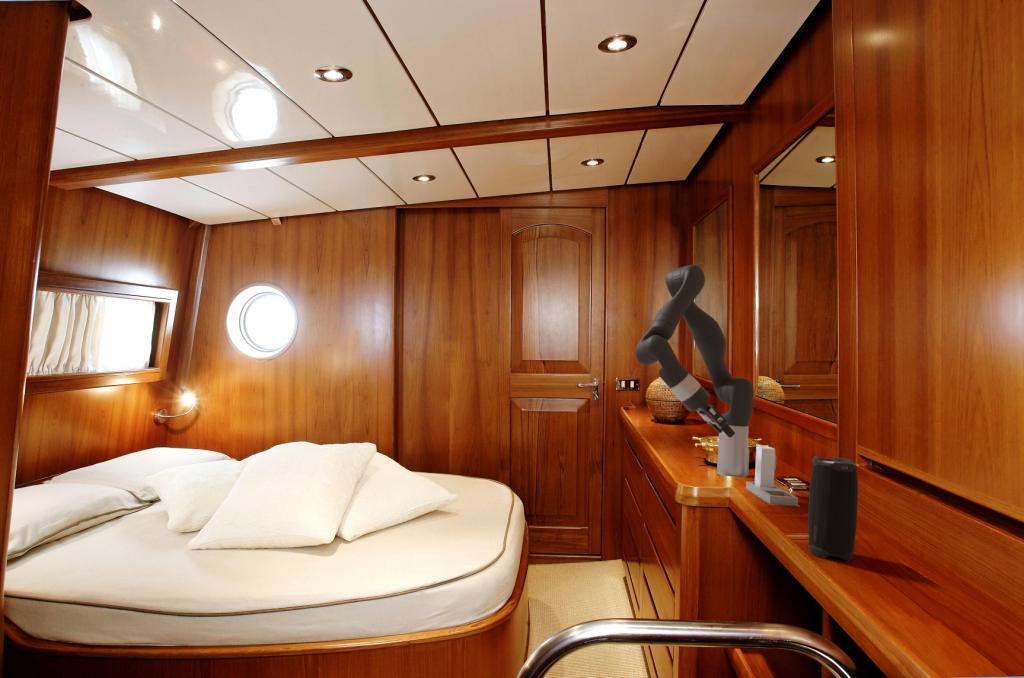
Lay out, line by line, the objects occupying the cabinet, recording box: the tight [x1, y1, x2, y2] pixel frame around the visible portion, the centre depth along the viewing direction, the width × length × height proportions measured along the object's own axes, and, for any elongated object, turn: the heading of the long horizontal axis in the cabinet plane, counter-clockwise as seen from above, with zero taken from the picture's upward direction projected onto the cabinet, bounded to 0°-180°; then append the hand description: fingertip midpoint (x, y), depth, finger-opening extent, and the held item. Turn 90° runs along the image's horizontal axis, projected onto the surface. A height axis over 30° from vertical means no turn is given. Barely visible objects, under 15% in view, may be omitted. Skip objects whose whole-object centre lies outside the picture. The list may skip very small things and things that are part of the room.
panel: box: [744, 481, 800, 507], centre depth 155 cm, size 8×18×3 cm, turn 178°
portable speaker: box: [807, 455, 859, 562], centre depth 112 cm, size 9×9×20 cm
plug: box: [754, 445, 777, 488], centre depth 160 cm, size 4×4×13 cm
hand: (726, 433), depth 160 cm, fingers open, 8 cm apart
